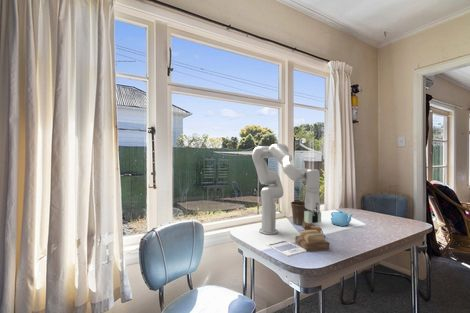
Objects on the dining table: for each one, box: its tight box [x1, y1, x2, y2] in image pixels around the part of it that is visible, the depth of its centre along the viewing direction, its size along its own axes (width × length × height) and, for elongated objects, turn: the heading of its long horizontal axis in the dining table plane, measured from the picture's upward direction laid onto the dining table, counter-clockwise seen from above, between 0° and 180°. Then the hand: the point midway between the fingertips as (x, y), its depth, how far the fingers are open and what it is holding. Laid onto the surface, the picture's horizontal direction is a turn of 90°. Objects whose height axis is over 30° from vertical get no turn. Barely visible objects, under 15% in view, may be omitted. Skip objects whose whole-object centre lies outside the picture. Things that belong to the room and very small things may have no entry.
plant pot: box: [290, 200, 307, 226], centre depth 193 cm, size 16×16×16 cm
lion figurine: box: [302, 222, 326, 238], centre depth 164 cm, size 15×5×9 cm, turn 71°
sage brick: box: [304, 211, 322, 224], centre depth 145 cm, size 5×8×6 cm, turn 102°
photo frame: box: [266, 240, 307, 257], centre depth 142 cm, size 15×1×18 cm
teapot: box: [330, 210, 354, 227], centre depth 191 cm, size 13×11×18 cm
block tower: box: [294, 229, 330, 252], centre depth 145 cm, size 14×14×8 cm
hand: (312, 221), depth 145 cm, fingers closed on sage brick, 4 cm apart
